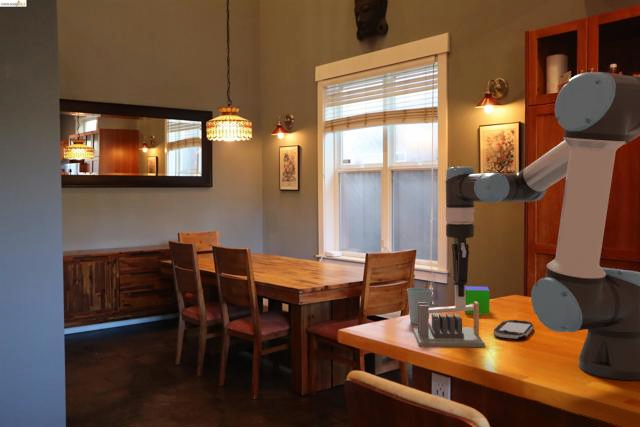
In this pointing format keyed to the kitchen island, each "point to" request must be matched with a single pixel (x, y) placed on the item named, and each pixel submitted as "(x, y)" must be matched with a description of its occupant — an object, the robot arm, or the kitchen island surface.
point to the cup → (415, 297)
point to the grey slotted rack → (446, 329)
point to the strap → (451, 309)
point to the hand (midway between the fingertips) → (460, 307)
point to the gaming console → (513, 330)
